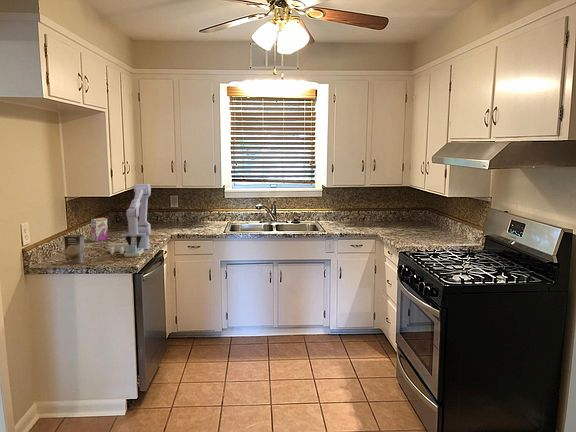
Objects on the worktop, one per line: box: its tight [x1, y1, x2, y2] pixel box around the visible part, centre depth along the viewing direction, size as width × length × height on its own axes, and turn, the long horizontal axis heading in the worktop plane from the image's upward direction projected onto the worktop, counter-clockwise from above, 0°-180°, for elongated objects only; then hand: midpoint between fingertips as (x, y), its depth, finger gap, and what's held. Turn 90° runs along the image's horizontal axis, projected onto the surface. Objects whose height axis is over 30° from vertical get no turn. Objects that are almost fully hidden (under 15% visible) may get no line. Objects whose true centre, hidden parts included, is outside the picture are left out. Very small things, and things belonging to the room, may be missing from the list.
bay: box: [107, 242, 129, 255], centre depth 291 cm, size 9×13×5 cm
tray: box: [124, 248, 145, 258], centre depth 285 cm, size 15×9×2 cm, turn 6°
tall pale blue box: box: [129, 238, 139, 253], centre depth 283 cm, size 10×4×8 cm, turn 6°
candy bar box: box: [90, 217, 109, 242], centre depth 330 cm, size 11×5×16 cm, turn 152°
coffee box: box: [64, 234, 86, 264], centre depth 263 cm, size 9×6×16 cm
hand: (134, 247), depth 285 cm, fingers closed on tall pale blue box, 4 cm apart
